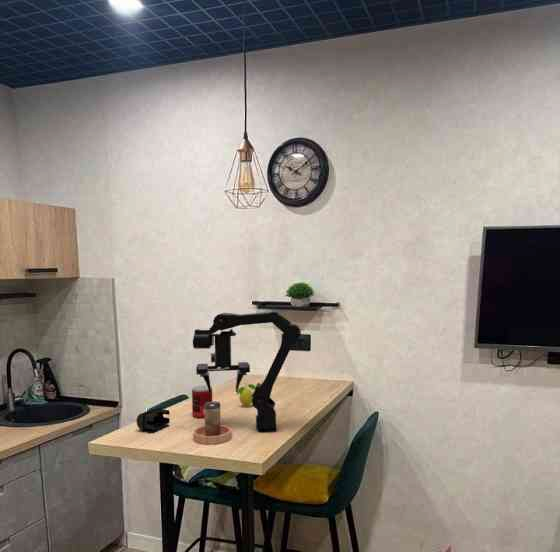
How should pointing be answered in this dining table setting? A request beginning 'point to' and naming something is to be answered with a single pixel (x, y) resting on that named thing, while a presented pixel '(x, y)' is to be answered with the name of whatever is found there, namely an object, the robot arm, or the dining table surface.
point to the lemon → (246, 394)
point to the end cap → (153, 420)
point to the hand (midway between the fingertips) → (223, 392)
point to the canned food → (200, 400)
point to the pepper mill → (212, 419)
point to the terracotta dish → (211, 440)
